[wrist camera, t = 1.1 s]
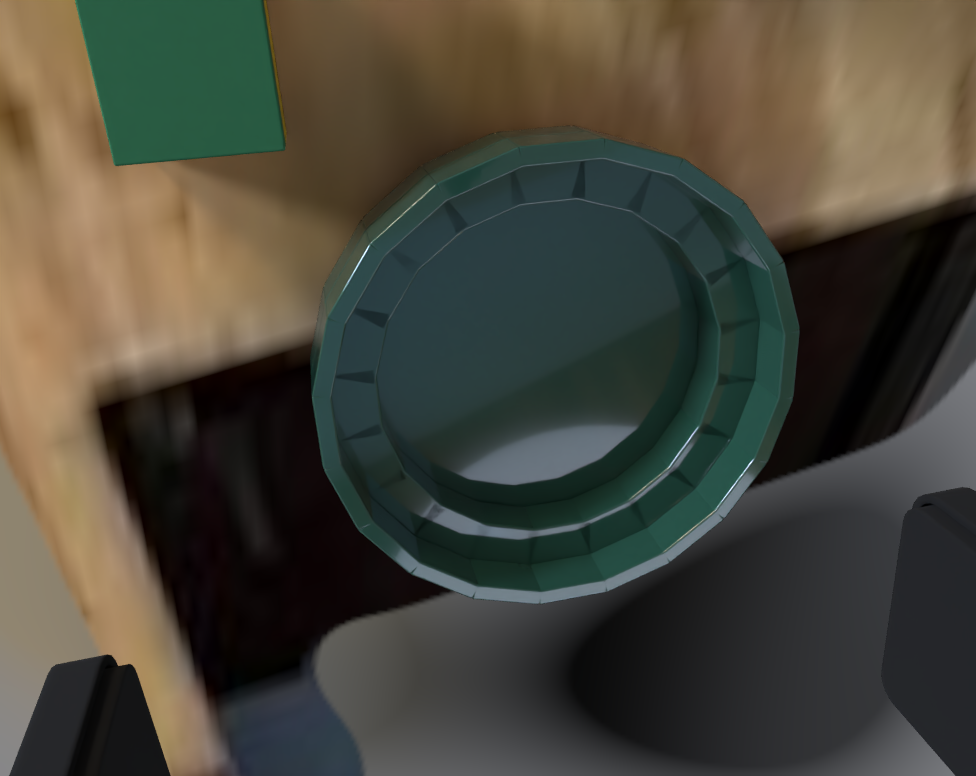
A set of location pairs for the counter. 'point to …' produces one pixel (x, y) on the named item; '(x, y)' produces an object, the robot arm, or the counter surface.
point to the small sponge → (184, 78)
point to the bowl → (550, 364)
